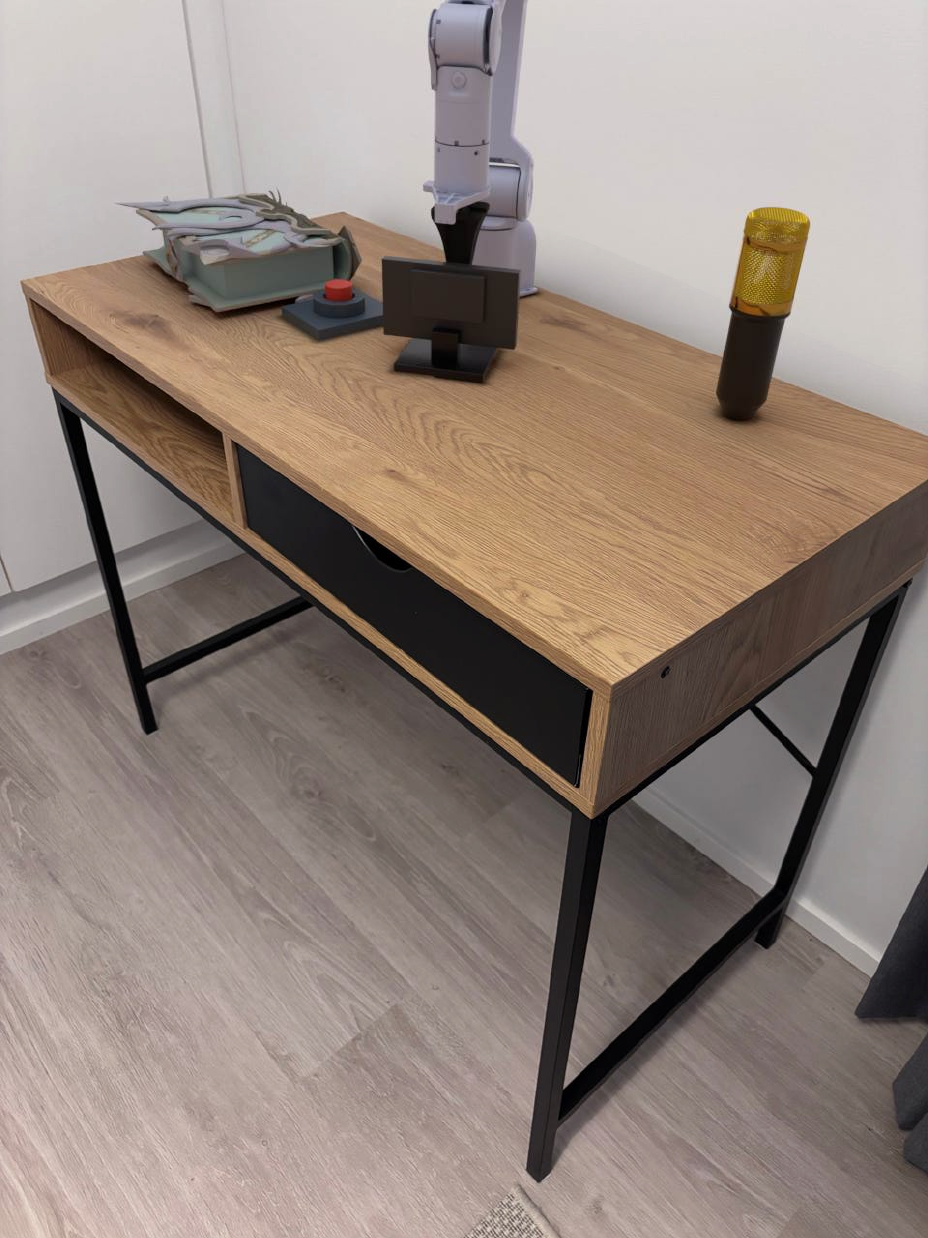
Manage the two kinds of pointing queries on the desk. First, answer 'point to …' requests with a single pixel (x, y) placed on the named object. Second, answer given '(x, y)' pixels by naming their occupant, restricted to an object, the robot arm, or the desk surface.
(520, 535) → the desk surface
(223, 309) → the ornate book
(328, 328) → the switch box
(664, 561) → the desk surface
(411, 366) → the monitor stand
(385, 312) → the screen
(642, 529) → the desk surface
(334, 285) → the power button
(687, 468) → the desk surface
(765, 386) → the microphone
